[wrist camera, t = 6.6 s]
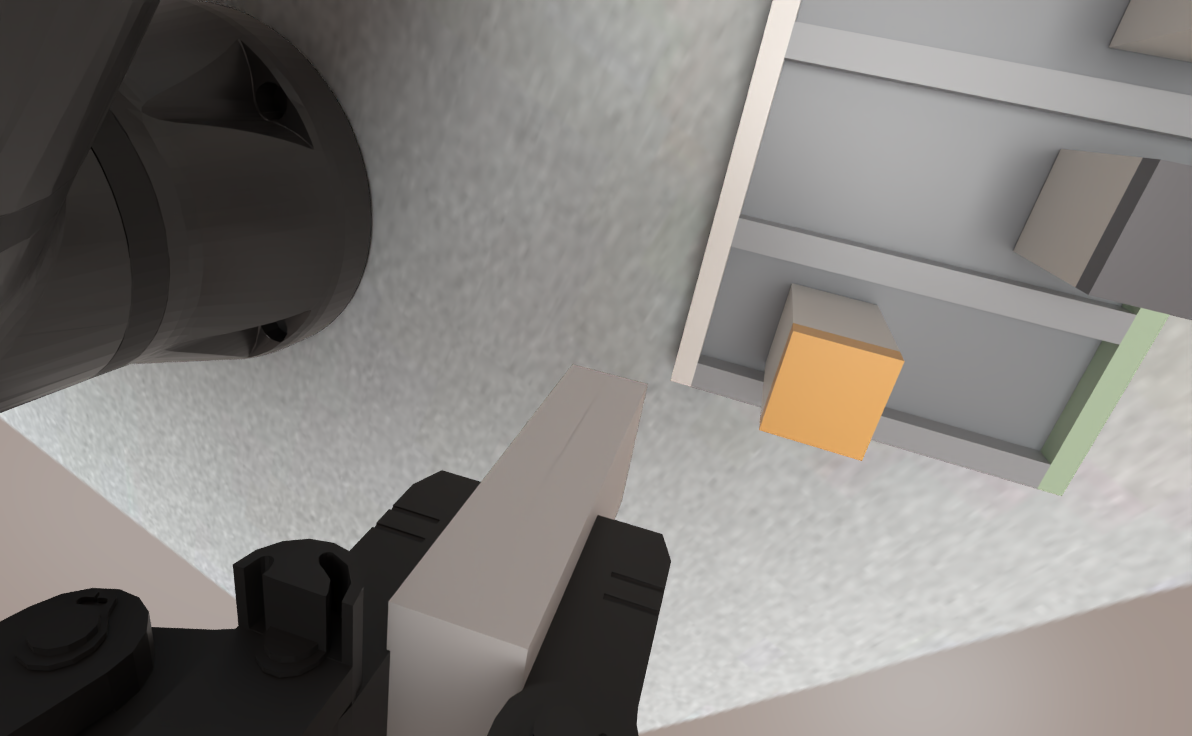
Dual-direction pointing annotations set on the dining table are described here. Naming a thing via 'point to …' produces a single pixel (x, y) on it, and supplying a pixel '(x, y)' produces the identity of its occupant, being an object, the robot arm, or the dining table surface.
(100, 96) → the robot arm
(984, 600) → the dining table surface
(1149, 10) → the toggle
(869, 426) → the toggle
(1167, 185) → the toggle mid
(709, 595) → the dining table surface
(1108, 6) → the breaker board
